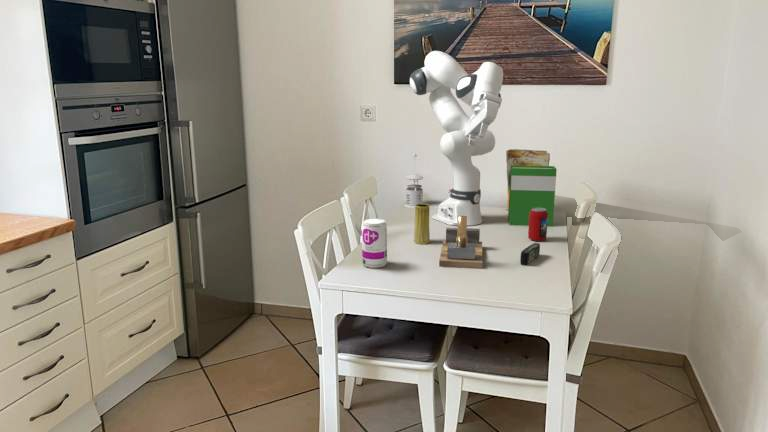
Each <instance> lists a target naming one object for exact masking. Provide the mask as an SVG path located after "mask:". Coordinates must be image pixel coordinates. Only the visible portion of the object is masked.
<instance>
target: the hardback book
mask: <svg viewBox="0 0 768 432" xmlns="http://www.w3.org/2000/svg"><path fill="white" fill-rule="evenodd" d="M556 182H557V168H556V167H555V165H549V166H516V165H511V171H510V191H509V210H507V211H508V212H507V214H508V215H507V222H508V225H509V226H519V227H520V226H521V227H522V226H526V227H529V214H530V211H531V210H532V208H545V209H546V211H547V213H548V222H547V227H553V223H554V213H555V211H554V210H555V198H556V197H555V196H556V184H557V183H556Z"/></svg>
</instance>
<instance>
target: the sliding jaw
mask: <svg viewBox="0 0 768 432" xmlns="http://www.w3.org/2000/svg"><path fill="white" fill-rule="evenodd" d="M456 228H457V243H451V242H448V250H447V258H453V259H475V243H466V232H467V228H468V225H467V216H464V215H460V216H458V225H457V227H456Z"/></svg>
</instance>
